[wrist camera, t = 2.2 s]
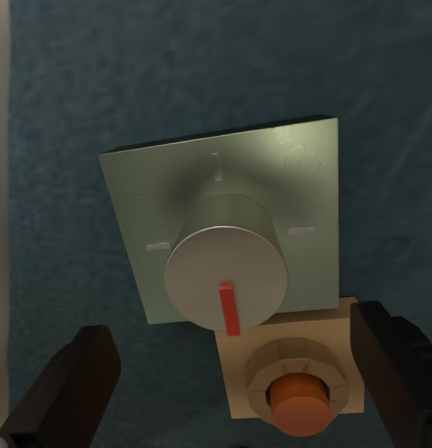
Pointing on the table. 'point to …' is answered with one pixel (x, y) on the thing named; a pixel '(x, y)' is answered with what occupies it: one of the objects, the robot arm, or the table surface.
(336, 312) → the button block
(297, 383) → the button
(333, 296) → the control knob panel
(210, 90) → the table surface
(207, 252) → the rotary dial knob
